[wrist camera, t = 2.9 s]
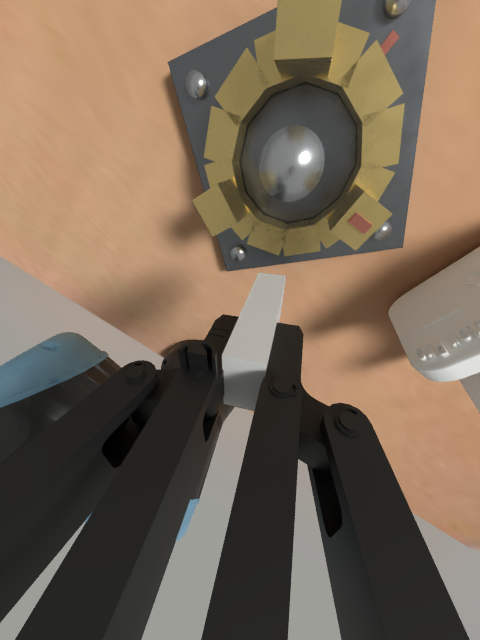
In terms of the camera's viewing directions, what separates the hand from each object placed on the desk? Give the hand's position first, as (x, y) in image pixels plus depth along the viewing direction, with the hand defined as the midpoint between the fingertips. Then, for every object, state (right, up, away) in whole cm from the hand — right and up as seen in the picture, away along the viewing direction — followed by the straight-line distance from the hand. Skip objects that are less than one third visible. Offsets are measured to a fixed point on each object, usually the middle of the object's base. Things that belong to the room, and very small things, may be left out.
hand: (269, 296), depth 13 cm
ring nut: (+3, +12, +7) cm, 15 cm away
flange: (+4, +13, +8) cm, 16 cm away
